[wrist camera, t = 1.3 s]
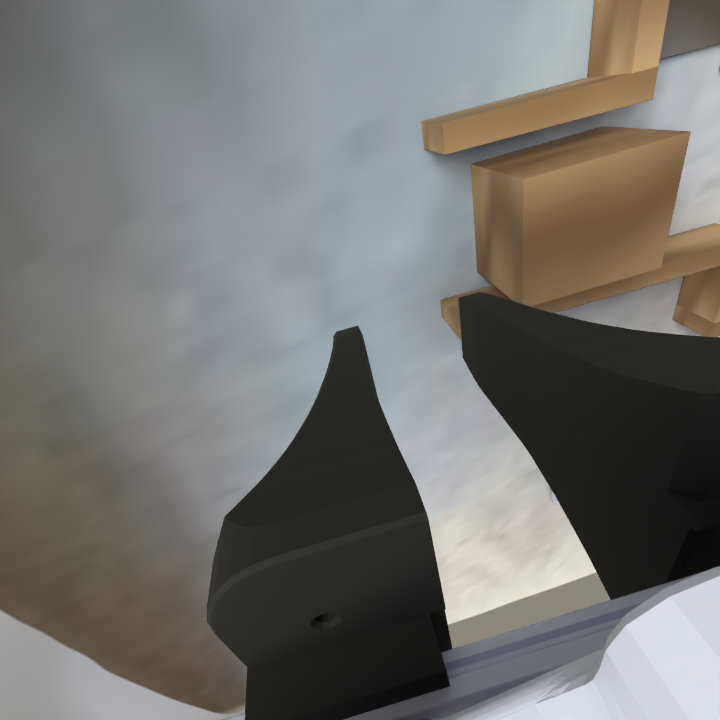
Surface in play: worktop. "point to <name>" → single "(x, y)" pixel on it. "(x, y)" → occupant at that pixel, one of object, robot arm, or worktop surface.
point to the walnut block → (576, 211)
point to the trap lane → (594, 96)
